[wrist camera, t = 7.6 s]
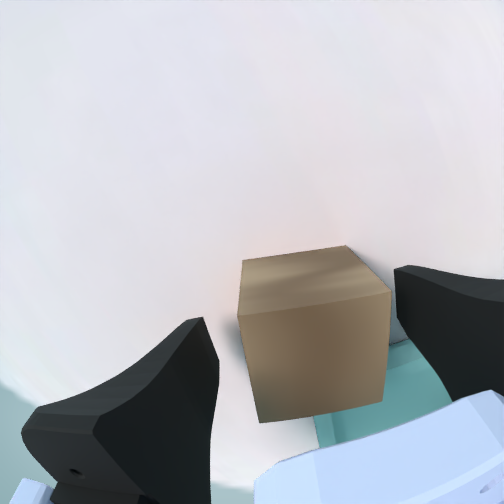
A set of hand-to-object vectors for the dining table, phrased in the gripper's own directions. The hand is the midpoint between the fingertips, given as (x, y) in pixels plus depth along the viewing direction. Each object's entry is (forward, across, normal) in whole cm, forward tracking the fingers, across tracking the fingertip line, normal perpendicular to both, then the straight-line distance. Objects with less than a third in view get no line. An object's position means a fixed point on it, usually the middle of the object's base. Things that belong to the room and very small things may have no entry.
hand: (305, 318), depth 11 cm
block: (+2, 0, 0) cm, 2 cm away
